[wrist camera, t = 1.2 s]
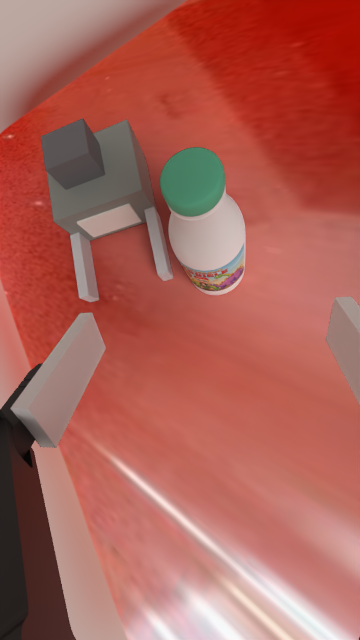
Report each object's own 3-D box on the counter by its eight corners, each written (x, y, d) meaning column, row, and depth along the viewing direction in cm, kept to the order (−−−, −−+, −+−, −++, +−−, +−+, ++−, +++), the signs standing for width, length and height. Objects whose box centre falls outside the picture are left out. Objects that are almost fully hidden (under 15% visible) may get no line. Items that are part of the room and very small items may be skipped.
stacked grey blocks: (146, 156, 43) (115, 89, 32) (173, 278, 39) (148, 247, 28) (72, 185, 45) (20, 131, 35) (90, 302, 41) (38, 282, 31)
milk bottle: (190, 245, 39) (140, 133, 20) (244, 241, 37) (247, 115, 18) (189, 297, 38) (134, 231, 19) (245, 295, 36) (248, 222, 17)
